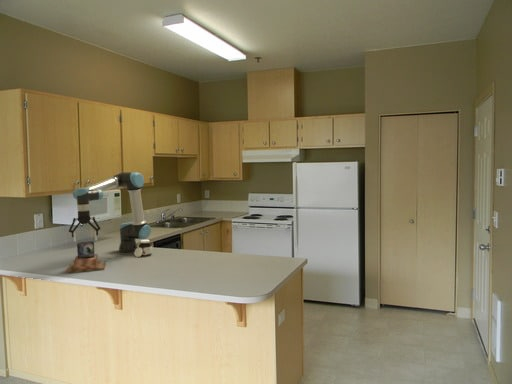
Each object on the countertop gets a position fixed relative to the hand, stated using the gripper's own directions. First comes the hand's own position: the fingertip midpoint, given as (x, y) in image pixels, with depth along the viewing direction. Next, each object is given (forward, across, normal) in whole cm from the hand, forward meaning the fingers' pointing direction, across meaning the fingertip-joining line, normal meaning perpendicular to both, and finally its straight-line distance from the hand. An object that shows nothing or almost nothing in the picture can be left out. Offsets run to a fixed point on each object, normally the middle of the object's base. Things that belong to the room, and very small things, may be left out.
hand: (85, 241), depth 288 cm
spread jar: (+20, +39, +24) cm, 49 cm away
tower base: (+19, 0, 0) cm, 19 cm away
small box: (+12, 0, 0) cm, 12 cm away
